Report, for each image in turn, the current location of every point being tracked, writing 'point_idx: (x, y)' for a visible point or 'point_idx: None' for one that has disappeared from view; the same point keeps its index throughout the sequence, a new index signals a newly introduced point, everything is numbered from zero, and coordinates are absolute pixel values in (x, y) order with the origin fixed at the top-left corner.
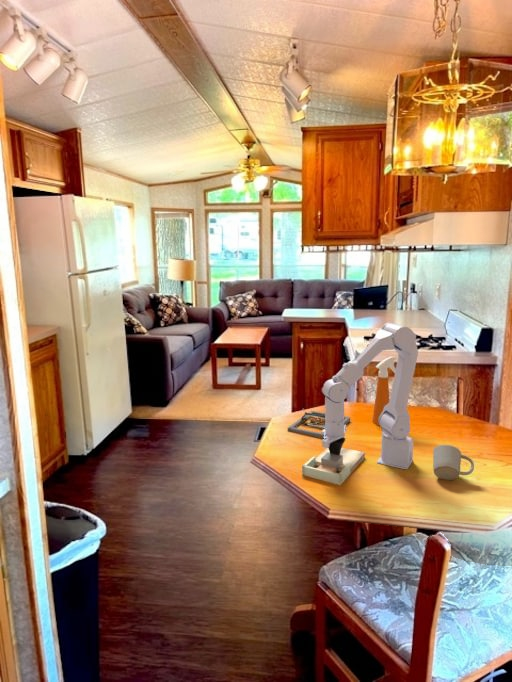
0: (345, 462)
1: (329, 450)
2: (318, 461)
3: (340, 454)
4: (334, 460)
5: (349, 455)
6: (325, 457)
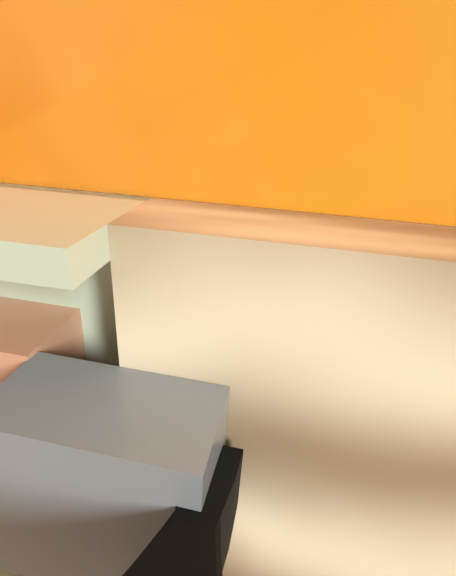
0: (247, 539)
1: (139, 557)
2: (122, 296)
3: (454, 494)
4: (17, 554)
5: (451, 568)
6: (15, 468)
